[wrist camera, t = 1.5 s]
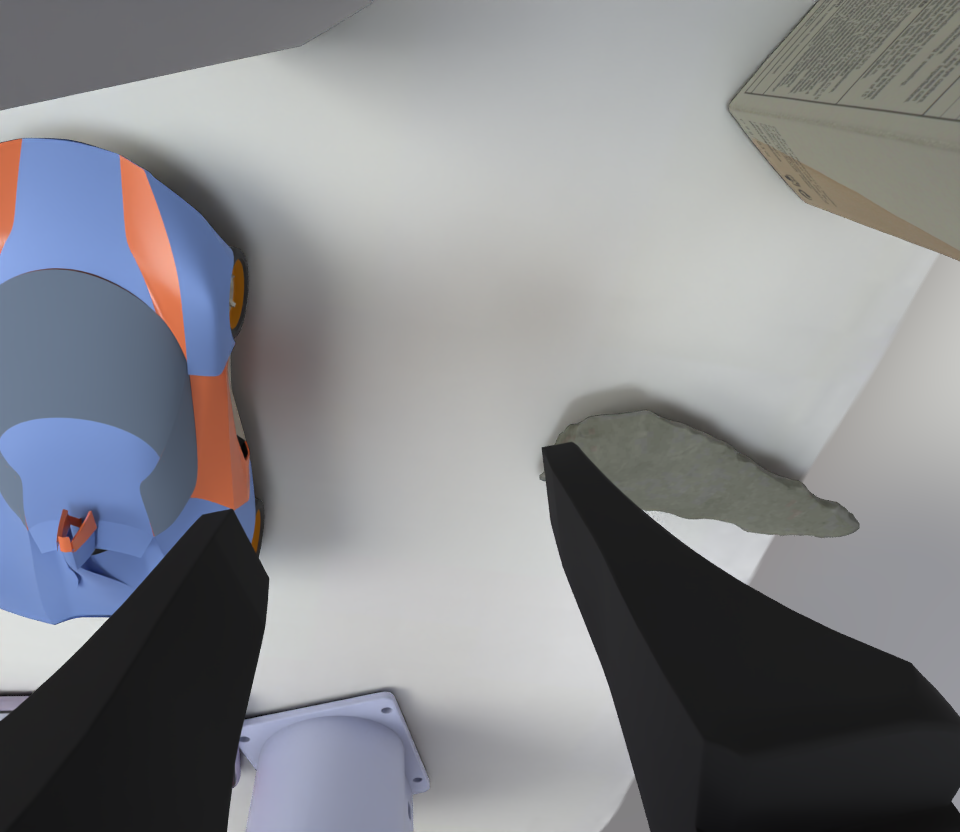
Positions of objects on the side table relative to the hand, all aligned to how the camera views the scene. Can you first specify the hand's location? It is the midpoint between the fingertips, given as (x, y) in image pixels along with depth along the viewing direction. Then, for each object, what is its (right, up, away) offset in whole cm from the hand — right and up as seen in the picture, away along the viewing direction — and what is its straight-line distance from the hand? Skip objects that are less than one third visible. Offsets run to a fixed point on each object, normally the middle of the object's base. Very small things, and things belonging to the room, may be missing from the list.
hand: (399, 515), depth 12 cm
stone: (+11, +1, +9) cm, 15 cm away
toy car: (-9, +3, +7) cm, 12 cm away
